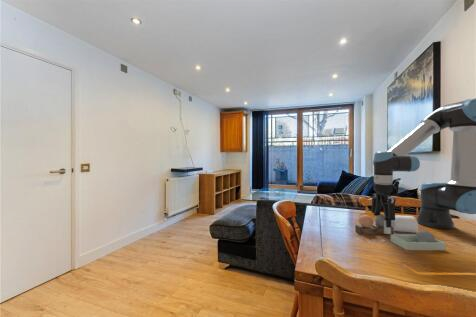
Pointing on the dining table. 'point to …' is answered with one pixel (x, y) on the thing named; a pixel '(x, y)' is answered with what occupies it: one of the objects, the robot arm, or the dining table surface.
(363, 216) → the ball terracotta
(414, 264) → the dining table surface
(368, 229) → the rail
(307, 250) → the dining table surface
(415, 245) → the trough
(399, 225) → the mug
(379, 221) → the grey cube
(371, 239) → the pair card
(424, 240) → the grey ball
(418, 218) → the robot arm
